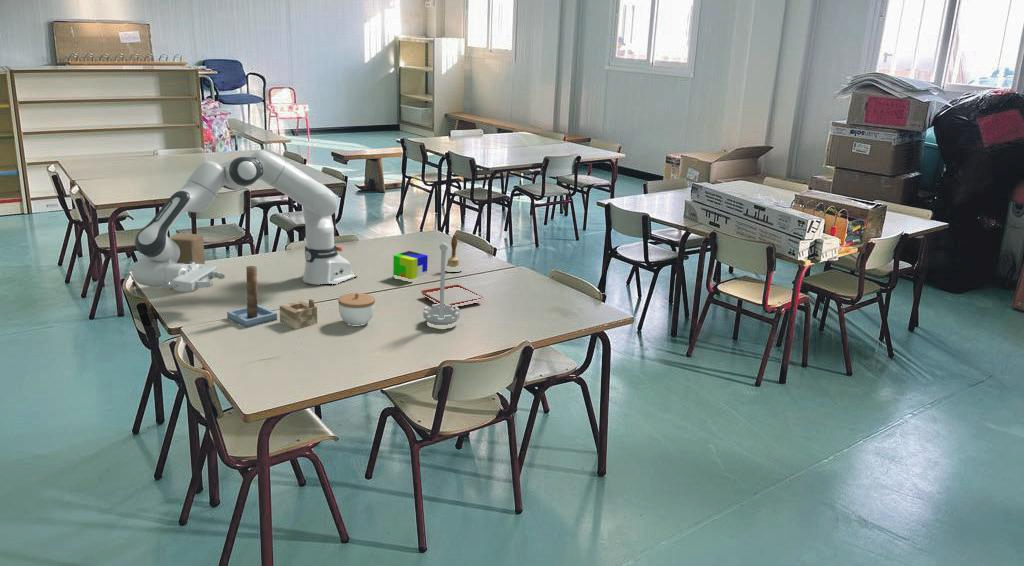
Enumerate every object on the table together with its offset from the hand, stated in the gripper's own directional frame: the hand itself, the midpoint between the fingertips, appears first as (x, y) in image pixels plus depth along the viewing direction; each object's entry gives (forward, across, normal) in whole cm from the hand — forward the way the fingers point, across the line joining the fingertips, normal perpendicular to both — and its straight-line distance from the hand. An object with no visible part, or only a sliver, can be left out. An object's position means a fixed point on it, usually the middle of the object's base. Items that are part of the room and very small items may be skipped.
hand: (218, 280), depth 272 cm
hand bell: (+69, +78, +13) cm, 105 cm away
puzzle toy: (+54, +62, +13) cm, 83 cm away
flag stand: (+76, +12, +13) cm, 78 cm away
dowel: (+12, 0, +12) cm, 17 cm away
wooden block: (-25, +28, +14) cm, 40 cm away
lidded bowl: (+47, +6, +13) cm, 49 cm away
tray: (+12, 0, +13) cm, 18 cm away
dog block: (+28, +1, +13) cm, 31 cm away
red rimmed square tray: (+76, +38, +13) cm, 86 cm away
